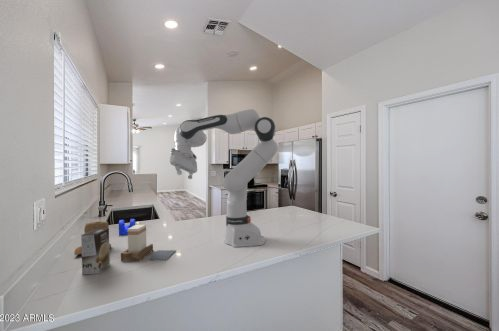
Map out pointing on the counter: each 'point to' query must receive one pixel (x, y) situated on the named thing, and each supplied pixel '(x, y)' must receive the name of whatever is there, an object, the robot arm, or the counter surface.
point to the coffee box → (95, 251)
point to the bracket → (125, 227)
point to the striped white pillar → (137, 238)
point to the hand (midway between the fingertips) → (185, 176)
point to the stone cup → (90, 227)
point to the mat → (162, 255)
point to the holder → (136, 254)
